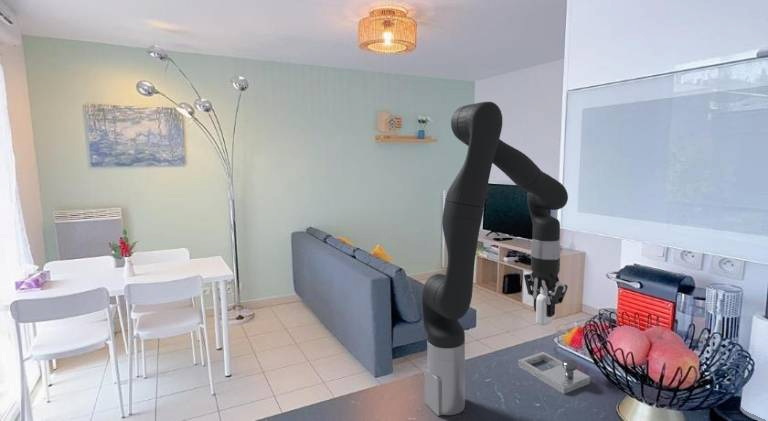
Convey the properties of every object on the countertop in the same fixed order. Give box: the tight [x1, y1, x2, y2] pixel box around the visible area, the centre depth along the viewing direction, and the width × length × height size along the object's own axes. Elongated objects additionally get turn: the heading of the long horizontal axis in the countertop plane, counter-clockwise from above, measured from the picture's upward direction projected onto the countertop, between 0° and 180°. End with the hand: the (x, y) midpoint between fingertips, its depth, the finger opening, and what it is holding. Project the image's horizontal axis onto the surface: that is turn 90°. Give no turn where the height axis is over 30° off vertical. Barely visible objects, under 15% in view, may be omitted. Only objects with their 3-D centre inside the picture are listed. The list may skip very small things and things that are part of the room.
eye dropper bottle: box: [535, 287, 553, 326], centre depth 115 cm, size 4×6×12 cm
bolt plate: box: [517, 351, 591, 395], centre depth 114 cm, size 10×16×6 cm, turn 26°
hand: (544, 313), depth 115 cm, fingers closed on eye dropper bottle, 3 cm apart
